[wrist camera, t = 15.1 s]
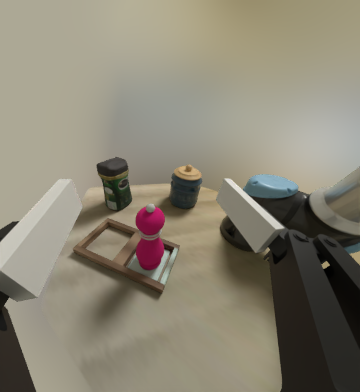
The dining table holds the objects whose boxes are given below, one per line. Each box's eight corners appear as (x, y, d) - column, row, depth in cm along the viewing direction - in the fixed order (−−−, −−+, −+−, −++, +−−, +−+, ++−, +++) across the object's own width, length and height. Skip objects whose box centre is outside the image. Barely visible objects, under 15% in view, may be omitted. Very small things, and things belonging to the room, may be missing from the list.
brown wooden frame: (108, 222, 45) (107, 218, 44) (178, 249, 41) (179, 245, 40) (74, 252, 36) (72, 248, 34) (161, 293, 31) (162, 290, 30)
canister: (177, 189, 69) (182, 156, 58) (200, 198, 65) (209, 165, 54) (163, 201, 59) (166, 164, 49) (189, 213, 55) (198, 175, 45)
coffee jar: (120, 194, 59) (114, 153, 48) (135, 200, 57) (131, 159, 46) (102, 206, 51) (89, 161, 40) (118, 213, 49) (109, 168, 38)
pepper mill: (132, 256, 37) (123, 201, 25) (154, 243, 41) (155, 190, 29) (145, 278, 33) (143, 224, 21) (168, 261, 37) (176, 208, 25)
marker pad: (144, 241, 41) (144, 241, 41) (170, 251, 40) (170, 251, 39) (127, 268, 34) (127, 267, 34) (157, 281, 33) (157, 280, 33)
